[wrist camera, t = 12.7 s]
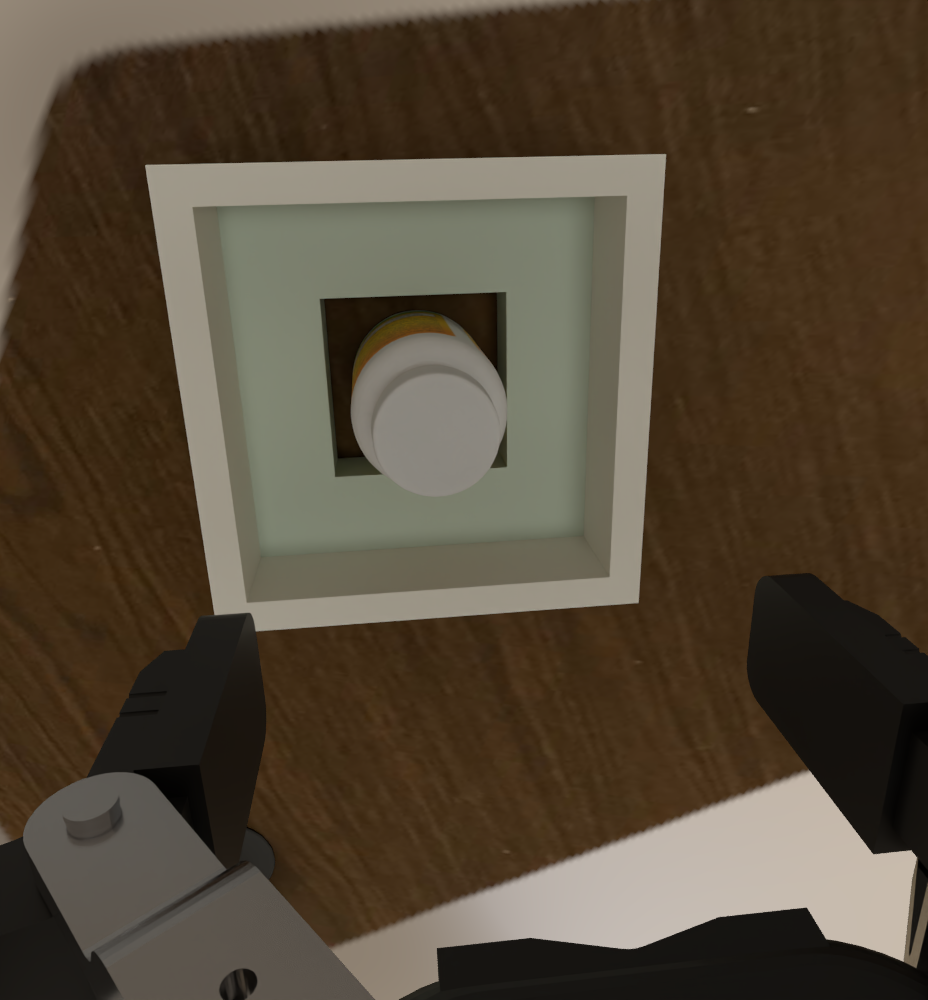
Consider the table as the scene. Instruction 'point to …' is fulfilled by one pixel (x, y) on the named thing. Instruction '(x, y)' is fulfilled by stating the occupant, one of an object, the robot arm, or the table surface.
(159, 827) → the robot arm
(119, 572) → the table surface
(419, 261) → the bore box
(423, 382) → the supplement bottle
